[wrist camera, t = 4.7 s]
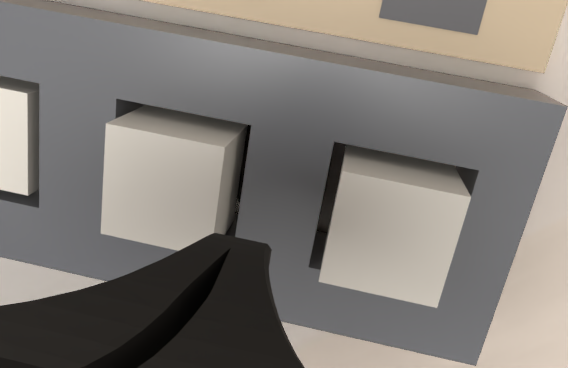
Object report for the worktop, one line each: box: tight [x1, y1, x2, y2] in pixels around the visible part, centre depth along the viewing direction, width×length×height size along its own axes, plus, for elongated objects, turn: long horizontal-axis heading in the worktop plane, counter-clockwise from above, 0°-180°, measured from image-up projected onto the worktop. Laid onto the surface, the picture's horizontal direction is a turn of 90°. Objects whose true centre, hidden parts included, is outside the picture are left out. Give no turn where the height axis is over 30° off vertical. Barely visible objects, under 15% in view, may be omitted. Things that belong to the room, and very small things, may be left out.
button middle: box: [101, 105, 247, 251], centre depth 17 cm, size 4×4×3 cm
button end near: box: [319, 145, 471, 308], centre depth 17 cm, size 4×4×3 cm
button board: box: [0, 0, 567, 366], centre depth 19 cm, size 9×22×3 cm, turn 81°
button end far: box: [0, 76, 39, 196], centre depth 19 cm, size 4×4×3 cm
